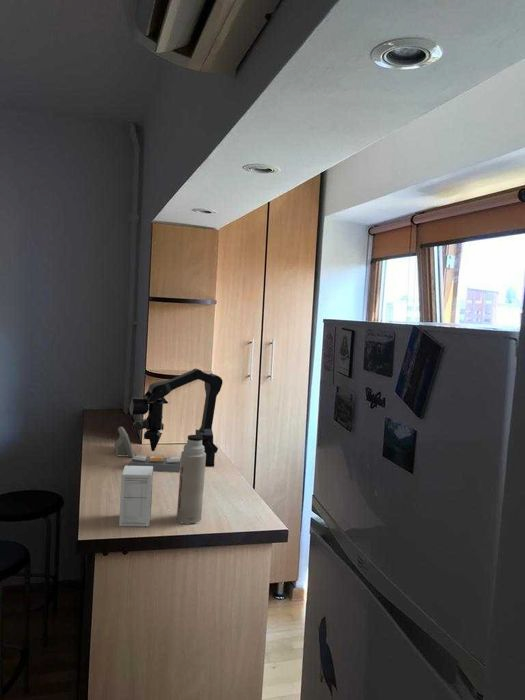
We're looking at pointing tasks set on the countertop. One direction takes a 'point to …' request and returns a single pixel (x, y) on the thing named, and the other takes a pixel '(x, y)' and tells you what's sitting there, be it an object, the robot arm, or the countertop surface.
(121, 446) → the grey tapered fin
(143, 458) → the rocker
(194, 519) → the thermos bottle
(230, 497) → the countertop surface
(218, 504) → the countertop surface
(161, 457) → the block
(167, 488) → the countertop surface
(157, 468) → the power strip
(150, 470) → the supplement box
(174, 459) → the rocker
